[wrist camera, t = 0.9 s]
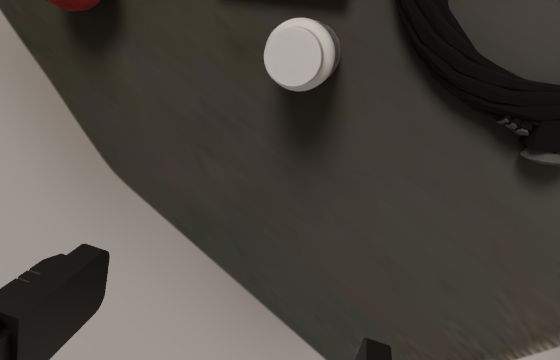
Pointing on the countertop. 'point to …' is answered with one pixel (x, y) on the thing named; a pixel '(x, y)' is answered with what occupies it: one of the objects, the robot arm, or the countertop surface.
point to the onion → (74, 4)
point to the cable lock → (484, 80)
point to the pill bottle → (301, 54)
